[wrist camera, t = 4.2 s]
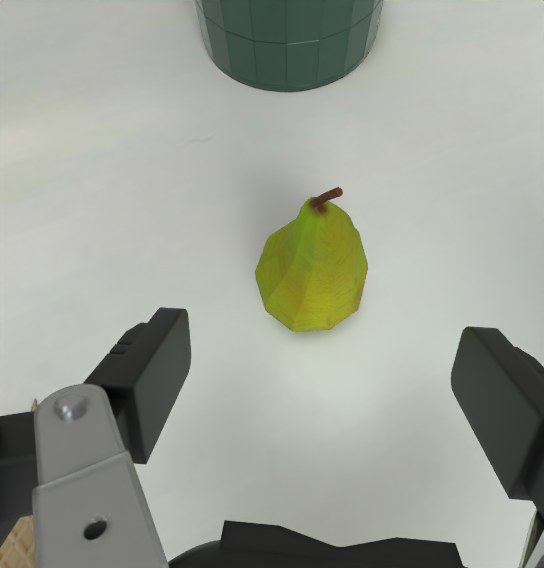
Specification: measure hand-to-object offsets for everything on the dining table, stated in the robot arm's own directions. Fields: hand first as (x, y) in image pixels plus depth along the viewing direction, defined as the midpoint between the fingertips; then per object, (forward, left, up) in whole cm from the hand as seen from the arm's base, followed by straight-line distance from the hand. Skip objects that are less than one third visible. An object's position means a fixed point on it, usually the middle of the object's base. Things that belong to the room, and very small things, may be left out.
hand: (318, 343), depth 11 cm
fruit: (+1, +5, -11) cm, 13 cm away
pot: (+3, +29, -11) cm, 32 cm away
